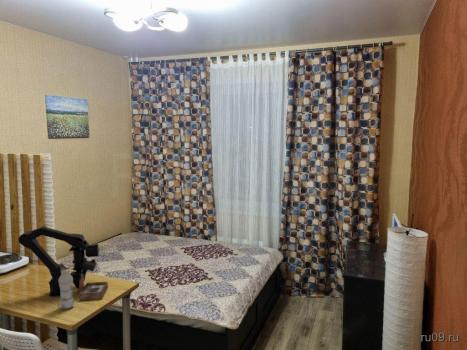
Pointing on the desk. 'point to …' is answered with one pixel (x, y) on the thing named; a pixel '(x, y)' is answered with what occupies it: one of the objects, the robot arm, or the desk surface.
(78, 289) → the peg
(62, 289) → the plastic bottle
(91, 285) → the square frame
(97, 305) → the desk surface
